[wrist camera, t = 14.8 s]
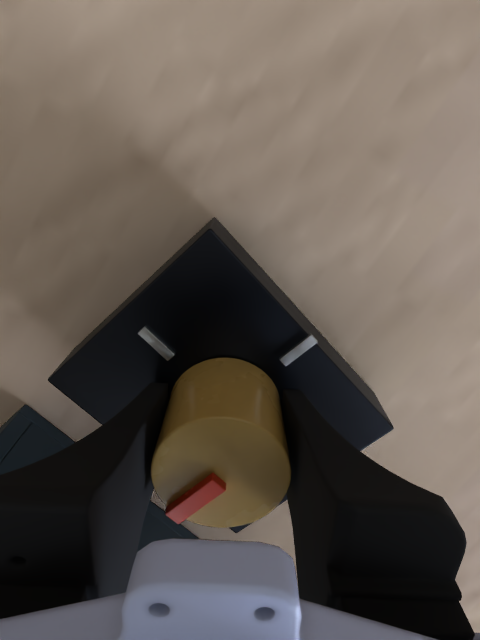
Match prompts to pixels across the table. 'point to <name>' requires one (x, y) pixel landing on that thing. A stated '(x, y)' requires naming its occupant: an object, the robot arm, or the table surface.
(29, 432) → the dark teal open box
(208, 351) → the block
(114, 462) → the robot arm
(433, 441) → the table surface
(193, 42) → the table surface
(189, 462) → the tap knob
